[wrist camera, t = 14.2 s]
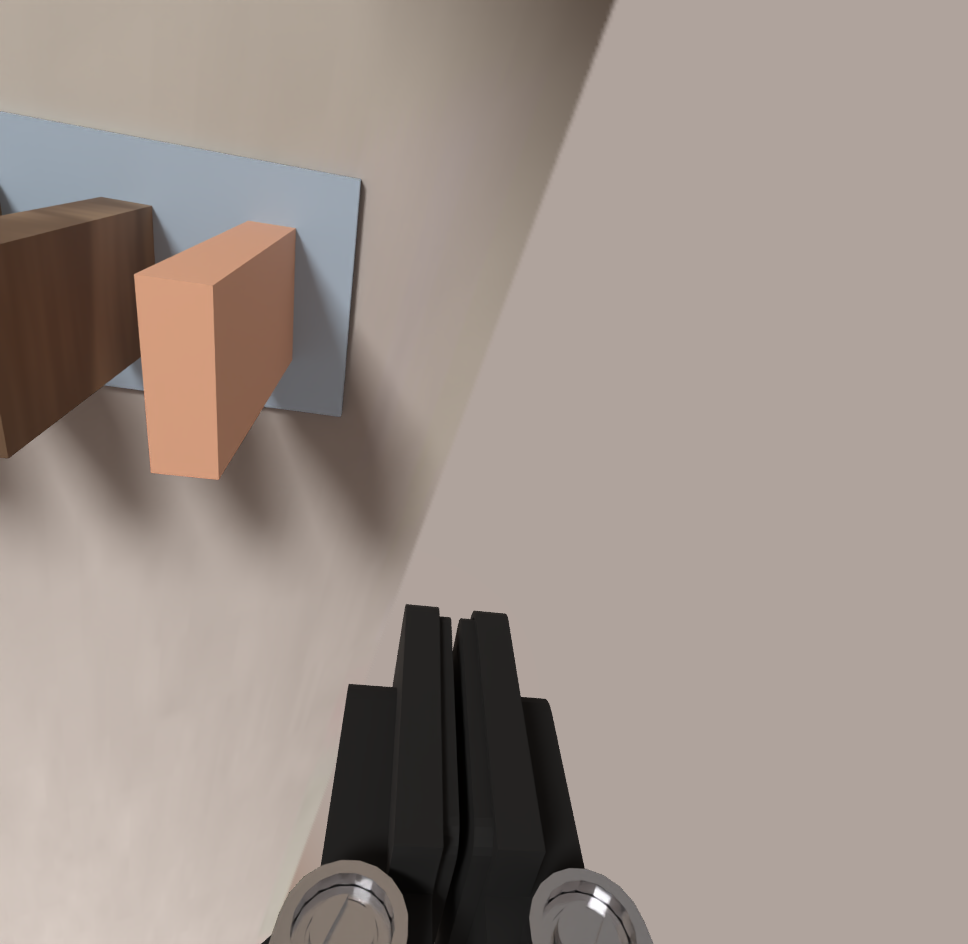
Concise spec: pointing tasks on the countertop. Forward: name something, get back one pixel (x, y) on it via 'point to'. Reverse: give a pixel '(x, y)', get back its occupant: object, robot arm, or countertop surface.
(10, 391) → the domino
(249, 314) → the terracotta domino
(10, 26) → the countertop surface
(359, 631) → the countertop surface
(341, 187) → the pale blue placemat
